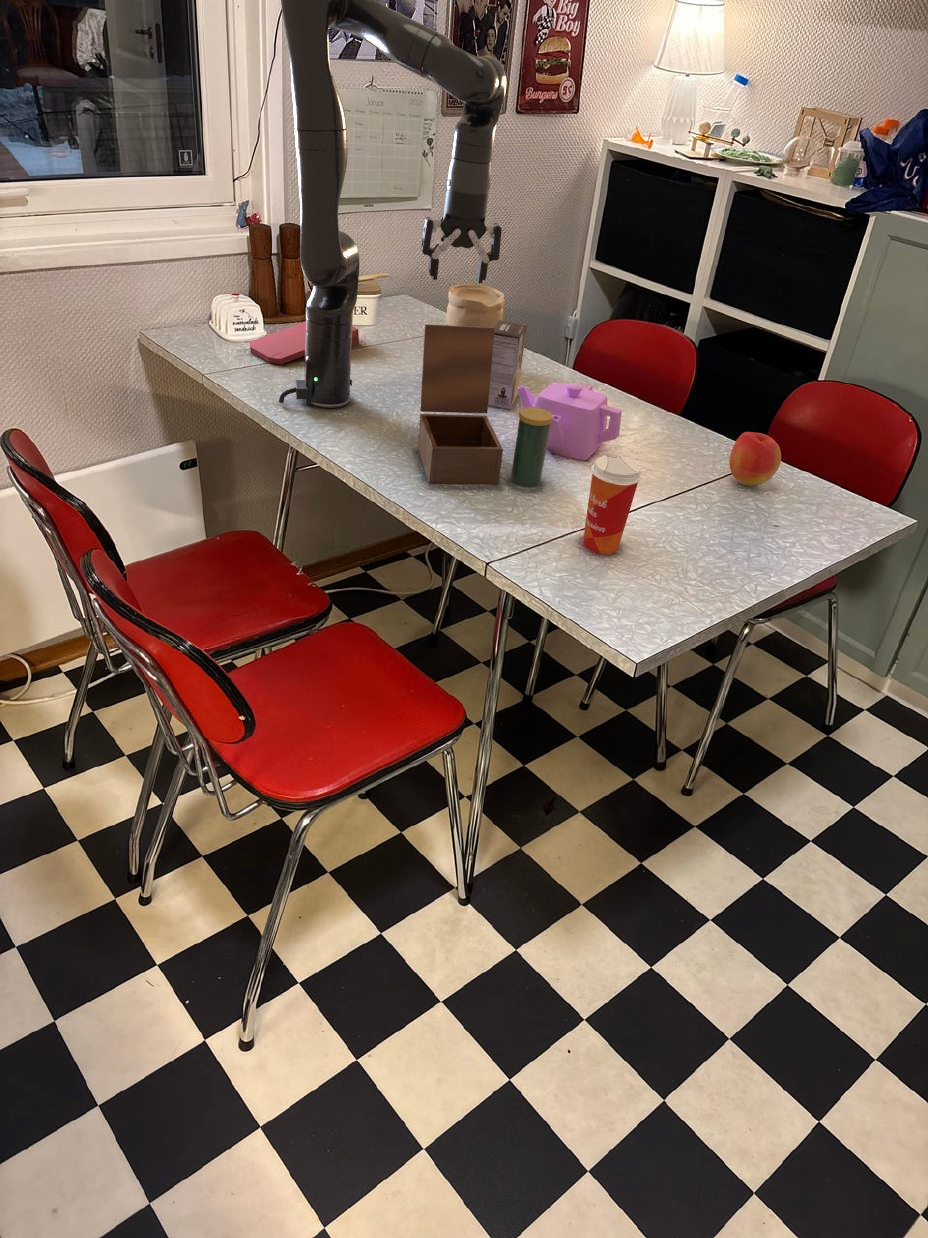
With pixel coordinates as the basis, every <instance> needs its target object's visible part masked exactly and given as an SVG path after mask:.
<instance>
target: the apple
mask: <svg viewBox="0 0 928 1238" xmlns="http://www.w3.org/2000/svg"><path fill="white" fill-rule="evenodd" d="M728 461H729V463H728V464H729V469H730V472H731V475H732V476H733V478H734V479H735V480H736V481H737V482H739V483H740V484H742V485H744V486H752V487H753V486H759V485H763V484H764V483H767V482H768V481H769V480H771V479H772V478H773V476H775V474H776V473H777V471H778V470H779V468H780V466H781V462H782V452H781V447H780V445H779V444H778V443H777V442H776V441H775V439H774V438H773V437H771V436H769V435H767V434H764V433H760V432H754V431H753V432H752V431H744V432H743V433H741V435H739V437H738V438H737V439H736V441H735V442H734V443H733V446H732V449H731V451H730V455H729V460H728Z"/></svg>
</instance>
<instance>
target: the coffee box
mask: <svg viewBox="0 0 928 1238" xmlns="http://www.w3.org/2000/svg"><path fill="white" fill-rule="evenodd" d="M527 329H528V324H527V323H521V322H513V321H507V320H502V321H501V320H499V322H498V323H497V325H496V327H495V330H494V342H493V354H492V366H491V377H490V389H489V401H488V406H491V407H496V408H502V409H507V410H511V409H512V407H513V405H514V402H515V400H516V399H517V396H518V391H517V388H518V387H520V386H519V385H520V379H521V371H522V364H523V357H524V350H525V343H526V337H527Z"/></svg>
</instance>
